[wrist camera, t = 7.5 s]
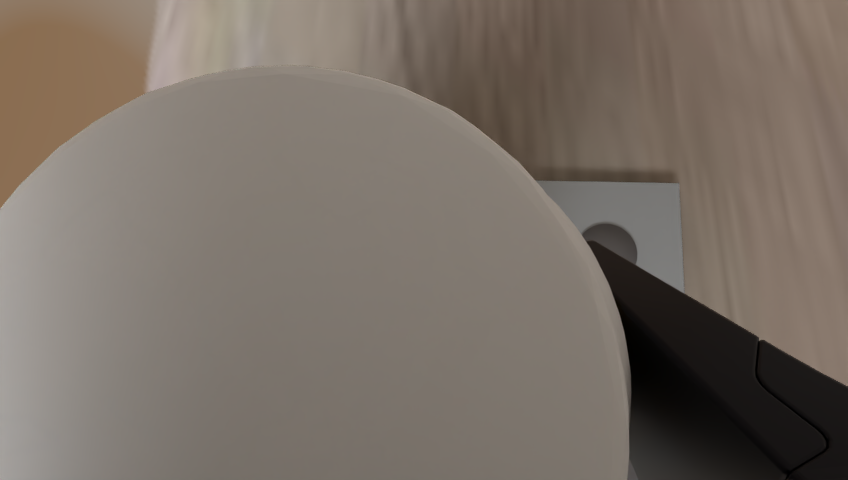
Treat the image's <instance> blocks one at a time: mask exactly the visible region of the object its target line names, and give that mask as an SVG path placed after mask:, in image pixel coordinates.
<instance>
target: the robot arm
mask: <svg viewBox="0 0 848 480" xmlns="http://www.w3.org/2000/svg"><path fill="white" fill-rule="evenodd" d="M586 242H587V244H588V245H589V247H590V248H591V250H592V252H593V254H594V256H595V257H596V259H597V261H598V263H599V265H600V267H601V269H602V271H603V273H604V275H605V278H606V280H607V282H608V284H609V286H610V289H611V291H612V294H613V297H614V300H615V303H616V306H617V308H618V311H619V314H620V318H621V322H622V326H623V329H624V334H625V339H626V344H627V350H628V357H629V363H630V372H631V412H630V425H629V459H630V462H631V464H632V466H633V469H634V471H635V473H636V476H637V478H638V480H848V386H846V385H844V384H842V383H840V382H838V381H836V380H834V379H832V378H830V377H828V376H826V375H824V374H822V373H821V372H819V371H817V370H815V369H814V368H812V367H810V366H808V365H806V364H805V363H803V362H801V361H799V360H797V359H796V358H794V357H792V356H790V355H789V354H787V353H785V352H783V351H782V350H780V349H778V348H777V347H775V346H773V345H771V344H770V343H768V342H766V341H765V340H760V341H759V338H758V337H757V336H756V335H754V334H752V333H751V332H749V331H747V330H746V329H744V328H742V327H741V326H739V325H737V324H735V323H734V322H732V321H730V320H729V319H727V318H725V317H724V316H722V315H720V314H718V313H717V312H715V311H713V310H712V309H710V308H708V307H707V306H705V305H703V304H701V303H700V302H698V301H696V300H695V299H693V298H691V297H690V296H688V295H686V294H684V293H683V292H681V291H679V290H678V289H676V288H674V287H673V286H671V285H669V284H667V283H666V282H664V281H662V280H661V279H659V278H657V277H656V276H654V275H652V274H650V273H649V272H647V271H645V270H644V269H642V268H640V267H639V266H637V265H635V264H633V263H632V262H630V261H628V260H627V259H625V258H623V257H622V256H620V255H618V254H616V253H615V252H613V251H611V250H610V249H608V248H606V247H605V246H603V245H601V244H599V243H598V242H596V241H594V240H588V241H586Z"/></svg>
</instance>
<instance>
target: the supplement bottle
mask: <svg viewBox="0 0 848 480" xmlns="http://www.w3.org/2000/svg"><path fill="white" fill-rule="evenodd" d="M630 412H631V372H630V363H629V357H628V350H627V344H626V339H625V334H624V329H623V326H622V322H621V318H620V314H619V311H618V308H617V306H616V303H615V300H614V297H613V294H612V291H611V289H610V286H609V284H608V282H607V280H606V278H605V275H604V273H603V271H602V269H601V267H600V265H599V263H598V261H597V259H596V257H595V256H594V254H593V252H592V250H591V248H590V247H589V245H588V244H587V242H586V241H585V239H584V238H583V236H582V235H581V233H580V232H579V230H578V229H577V227H576V226H575V225H574V224H573V223H572V221H571V220H570V219H569V218H568V217H567V215H566V214H565V213H564V212H563V211H562V209H561V208H560V207H559V206H558V205H557V204H556V203H555V202H554V201H553V200H552V199H551V198H550V197H549V196H548V195H547V194H546V193H545V191H544V190H543V189H542V187H541V186H540V185H539V184H538V183H537V182H536V181H535V180H534V179H533V177H532V176H531V175H530V174H529V173H528V172H527V171H526V170H525V168H524V167H523V166H522V165H521V164H520V163H519V162H518V161H517V160H516V159H514V158H513V157H512V156H511V155H510V154H509V153H507V152H506V151H505V150H504V149H503V148H501V147H500V146H499V145H498V144H497V143H495V142H494V141H493V140H492V139H490V138H489V137H488V136H487V135H485V134H484V133H483V132H482V131H481V130H479V129H478V128H477V127H475V126H474V125H473V124H471V123H470V122H468V121H467V120H465V119H464V118H463V117H461V116H460V115H458V114H457V113H455V112H454V111H452V110H450V109H448V108H446V107H444V106H442V105H440V104H438V103H435V102H433V101H431V100H429V99H427V98H425V97H423V96H421V95H418V94H416V93H414V92H412V91H410V90H408V89H406V88H403V87H400V86H397V85H394V84H392V83H389V82H386V81H383V80H380V79H376V78H372V77H368V76H364V75H360V74H356V73H352V72H348V71H343V70H335V69H327V68H319V67H311V66H296V65H281V66H255V67H247V68H240V69H233V70H227V71H222V72H217V73H212V74H207V75H203V76H199V77H195V78H191V79H188V80H185V81H182V82H179V83H176V84H173V85H170V86H167V87H163V88H160V89H157V90H154V91H151V92H148V93H146V94H144V95H142V96H140V97H138V98H136V99H134V100H132V101H130V102H128V103H127V104H125V105H123V106H121V107H120V108H118V109H116V110H114V111H112V112H111V113H109V114H107V115H105V116H104V117H102V118H100V119H98V120H96V121H95V122H93V123H92V124H91V125H89V126H88V127H87V128H85V129H84V130H82V131H81V132H79V133H78V134H77V135H75V136H74V137H73V138H71V139H70V140H68V141H67V142H66V143H64V144H63V145H61V146H60V147H58V148H57V149H56V150H55V151H54V152H53V153H52V154H51V155H50V156H49V157H48V158H47V159H46V160H45V161H44V162H43V163H42V164H41V165H40V166H39V167H38V168H37V169H36V170H35V171H34V172H33V173H32V174H31V175H29V176H28V178H26V179H25V180H24V181H23V182H22V183H21V184H20V185H19V186H18V188H17V189H16V190H15V191H14V193H13V194H12V195H11V196H10V197H9V198H8V200H7V201H6V202H5V203H4V205H3V206H2V207H1V209H0V480H627V477H628V463H629V425H630Z"/></svg>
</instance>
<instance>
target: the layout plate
mask: <svg viewBox="0 0 848 480" xmlns="http://www.w3.org/2000/svg"><path fill="white" fill-rule="evenodd" d="M536 182H537V183H538V184H539V185H540V186H541V187H542V189H543V190H544V191H545V193H546V194H547V195H548V196H549V197H550V198H551V199H552V200H553V201H554V202H555V203H556V204H557V205H558V206H559V207H560V208H561V209H562V211H563V212H564V213H565V214H566V215H567V217H568V218H569V219H570V220H571V221H572V223H573V224H574V225H575V226H576V227H577V229H578V230H579V232H580V233H581V235H582V236H583V238H584V239H585V241H588V240H594V241H596V242H598V243H599V244H601V245H603V246H605V247H606V248H608V249H610V250H611V251H613V252H615V253H616V254H618V255H620V256H622V257H623V258H625V259H627V260H628V261H630V262H632V263H633V264H635V265H637V266H639V267H640V268H642V269H644V270H645V271H647V272H649V273H650V274H652V275H654V276H656V277H657V278H659V279H661V280H662V281H664V282H666V283H667V284H669V285H671V286H673V287H674V288H676V289H678V290H679V291H681V292H683V293H684V294H685V291H684V271H683V251H682V231H681V210H680V190H679V183H642V182H588V181H536ZM627 480H638V478H637V476H636V473H635V471H634V469H633V466H632V464H631V462H630V459H629V463H628V477H627Z"/></svg>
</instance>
